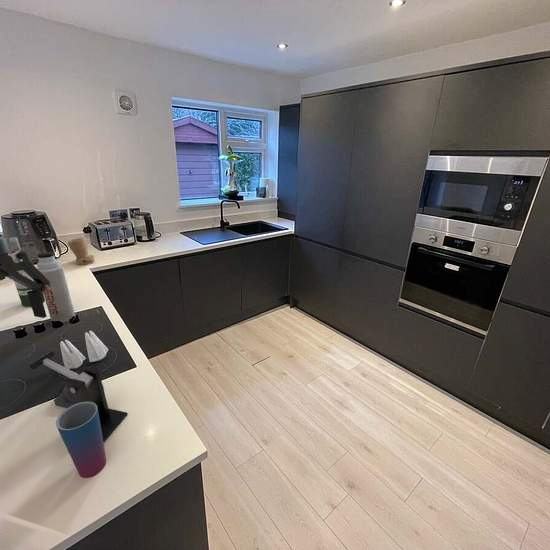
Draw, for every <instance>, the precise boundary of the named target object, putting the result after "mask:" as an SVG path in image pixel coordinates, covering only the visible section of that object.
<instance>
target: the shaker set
mask: <svg viewBox="0 0 550 550" xmlns="http://www.w3.org/2000/svg"><path fill="white" fill-rule="evenodd" d="M84 339H85V345H86V351H87V355H88V356H87V357H88V361H89V363H94V362H100V361H103V360H104V359H105V358H106V356H107V354H108V351H109V349H108V347H107V346H106V345H105V344H104V342H102V340H101V339H100V338H99V337H98V336H97V335H96V334H95V333H94V332H93V331H92V330H89V332H84ZM59 345H60V352H61V357H62V363H63V367H65V368H67V369H69V370H71V369H77V368H79V367H82V365H83V362H84V361H85V360H87V358H86V356H85V355H83V354H82V352H80V350H78V348H77V347H76V346H75V345H73V344H72V342H70V341H69V340H68V339H64V341H60V343H59Z"/></svg>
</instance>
